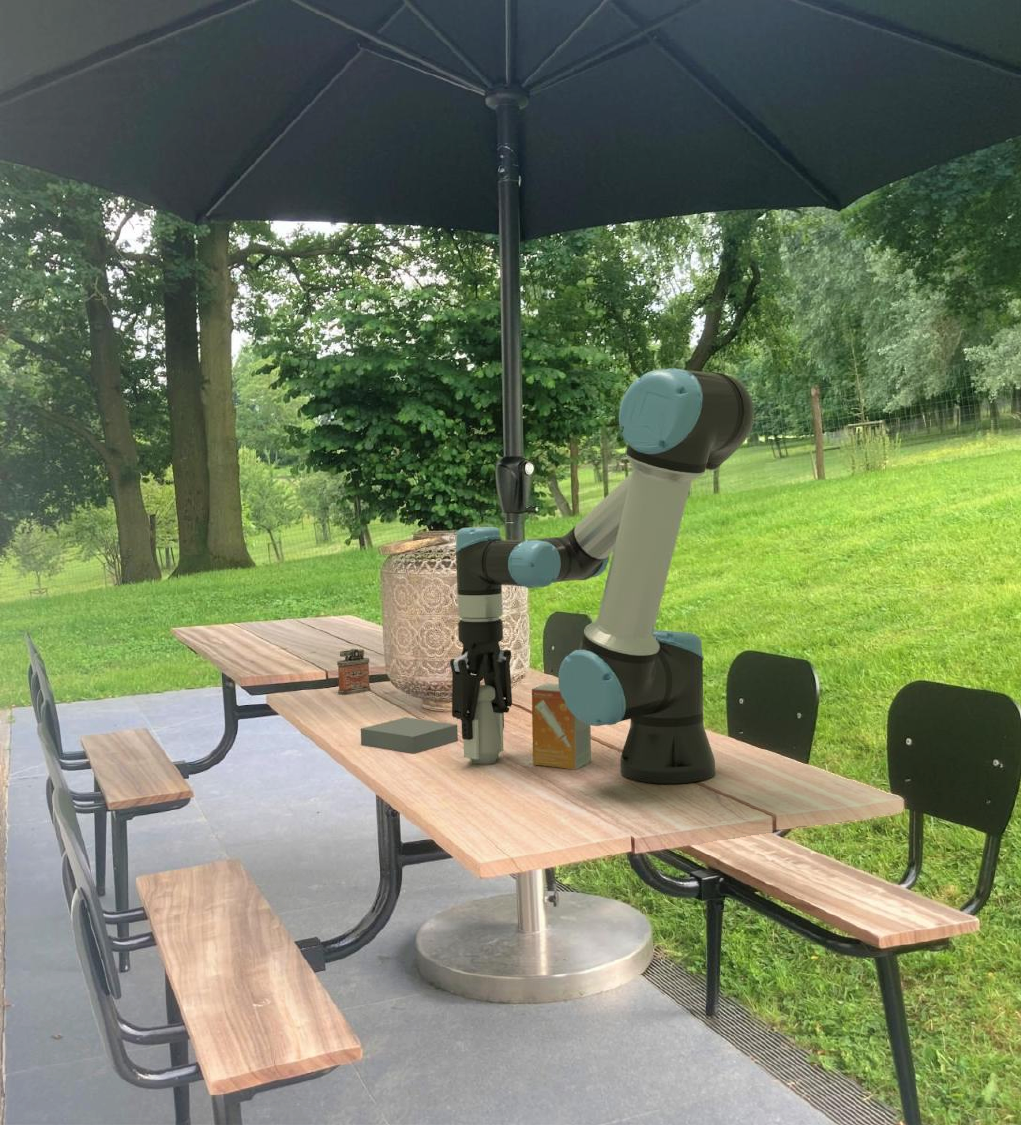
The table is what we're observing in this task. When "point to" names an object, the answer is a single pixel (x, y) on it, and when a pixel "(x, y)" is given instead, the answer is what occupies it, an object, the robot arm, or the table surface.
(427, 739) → the block
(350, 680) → the lighter
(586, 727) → the small box
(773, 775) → the table surface
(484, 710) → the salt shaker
